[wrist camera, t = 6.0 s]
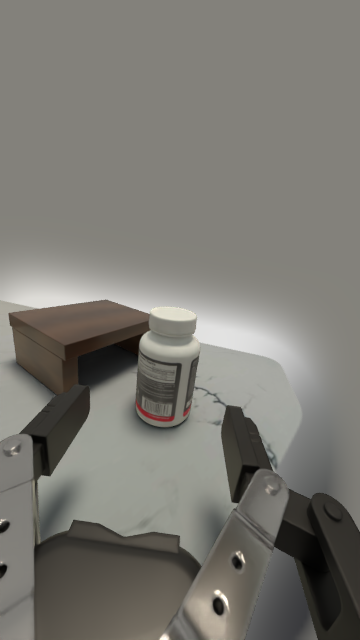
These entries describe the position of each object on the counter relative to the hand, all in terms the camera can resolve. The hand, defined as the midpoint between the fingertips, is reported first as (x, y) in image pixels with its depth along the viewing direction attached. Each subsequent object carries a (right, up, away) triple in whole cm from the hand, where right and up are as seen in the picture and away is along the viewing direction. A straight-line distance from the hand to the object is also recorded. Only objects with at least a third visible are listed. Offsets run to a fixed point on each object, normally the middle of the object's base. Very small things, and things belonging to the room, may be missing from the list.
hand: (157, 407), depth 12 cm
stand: (-10, 0, +15) cm, 19 cm away
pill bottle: (0, -4, +9) cm, 9 cm away
